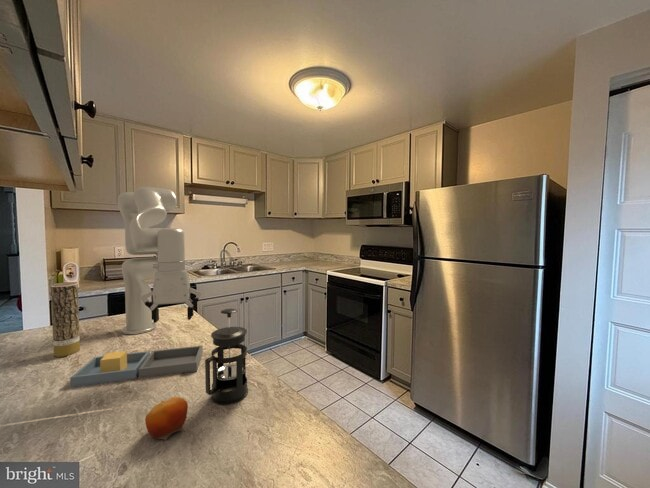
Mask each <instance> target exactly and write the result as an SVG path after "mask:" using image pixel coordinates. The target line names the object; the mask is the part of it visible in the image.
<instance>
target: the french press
mask: <svg viewBox="0 0 650 488" xmlns="http://www.w3.org/2000/svg"><path fill="white" fill-rule="evenodd" d="M237 312H238V309H236V308H225V309H222V310H221V311H220V314H224V315H225V314H226V316H227V318H228V326H226V327H222V328H219V329H216V330H214V331H212V333H211V336H210V338H211V339H212V343H213V345H214V346H216V347H215V348H214V349H213V350H212V351H211V356H210V357H208V358H205V359H204V365H205V366H204V368H205V370H204V373H205V378H204V379H205V393H206V394H207V395H208V396H210V398H211V399H210V400H211V402H213V403H214V404H216V405H219V406H228V405H233V404H236V403H239V402H241V401H243V400H244V399H245V398H246V397H247V395H248V394H249V388H248V378H247V377H246V371H247V366H246V364H247V363H246V357H247V356H248V355H247V354H248V347H247V346H246V345H244V344H242V343H244V342H245V340H246V334H247V333H248V330H247V329H246V328H245V327H241V326H231V317H232V314H234V313H237ZM231 349H237V350H239V349H240V354H238V355H235V356H231ZM224 350H228V357H225V354H224ZM216 354H217V356H215V355H216ZM211 362H212V384H211ZM227 387H228V388H229V387H236V389H233V390H226V391H221V390H223V389H225V388H227Z"/></svg>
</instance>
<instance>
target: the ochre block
mask: <svg viewBox="0 0 650 488" xmlns="http://www.w3.org/2000/svg"><path fill="white" fill-rule="evenodd" d="M127 353H128V352H127V350H124V351H123V350H121V351H114V352H106V354H105V355H103V356H104V357H103V358H102V359H101V360H100V372H101V373H103V372H111V371H119V370H124V369H125V368H126V367H127Z"/></svg>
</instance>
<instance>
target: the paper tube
mask: <svg viewBox="0 0 650 488" xmlns="http://www.w3.org/2000/svg"><path fill="white" fill-rule="evenodd" d="M78 286H79V285H78V282H77V281H65V282H57V283H52V284H50V297H51V298H50V299H51V317H52V319H51V320H52V346H53V355H54V356H55V357H56V358H62V357H63V358H64V357H68V356H70V355H74V354H76V353H78V352H80V350H81V344H80V343H81V342H80V341H81V339H80V312H79V311H80V310H79V288H78Z"/></svg>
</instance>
